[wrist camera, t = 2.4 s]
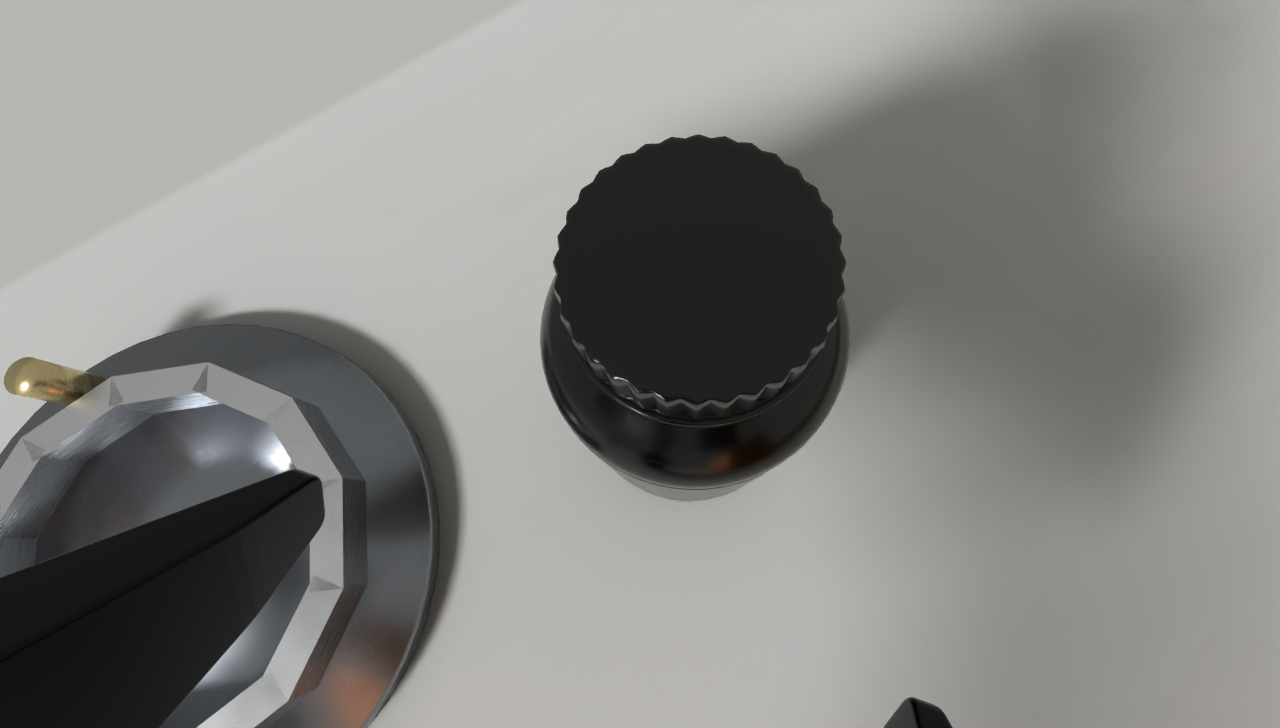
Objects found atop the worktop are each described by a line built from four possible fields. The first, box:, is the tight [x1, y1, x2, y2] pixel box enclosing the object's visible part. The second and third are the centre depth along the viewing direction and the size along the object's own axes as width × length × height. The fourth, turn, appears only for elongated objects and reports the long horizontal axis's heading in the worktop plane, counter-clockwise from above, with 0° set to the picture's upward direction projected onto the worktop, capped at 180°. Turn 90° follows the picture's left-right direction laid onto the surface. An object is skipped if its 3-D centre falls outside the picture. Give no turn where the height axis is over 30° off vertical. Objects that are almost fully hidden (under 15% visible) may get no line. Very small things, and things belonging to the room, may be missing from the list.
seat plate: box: [0, 324, 439, 728], centre depth 19 cm, size 16×16×4 cm
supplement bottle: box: [540, 135, 849, 501], centre depth 16 cm, size 7×7×12 cm
